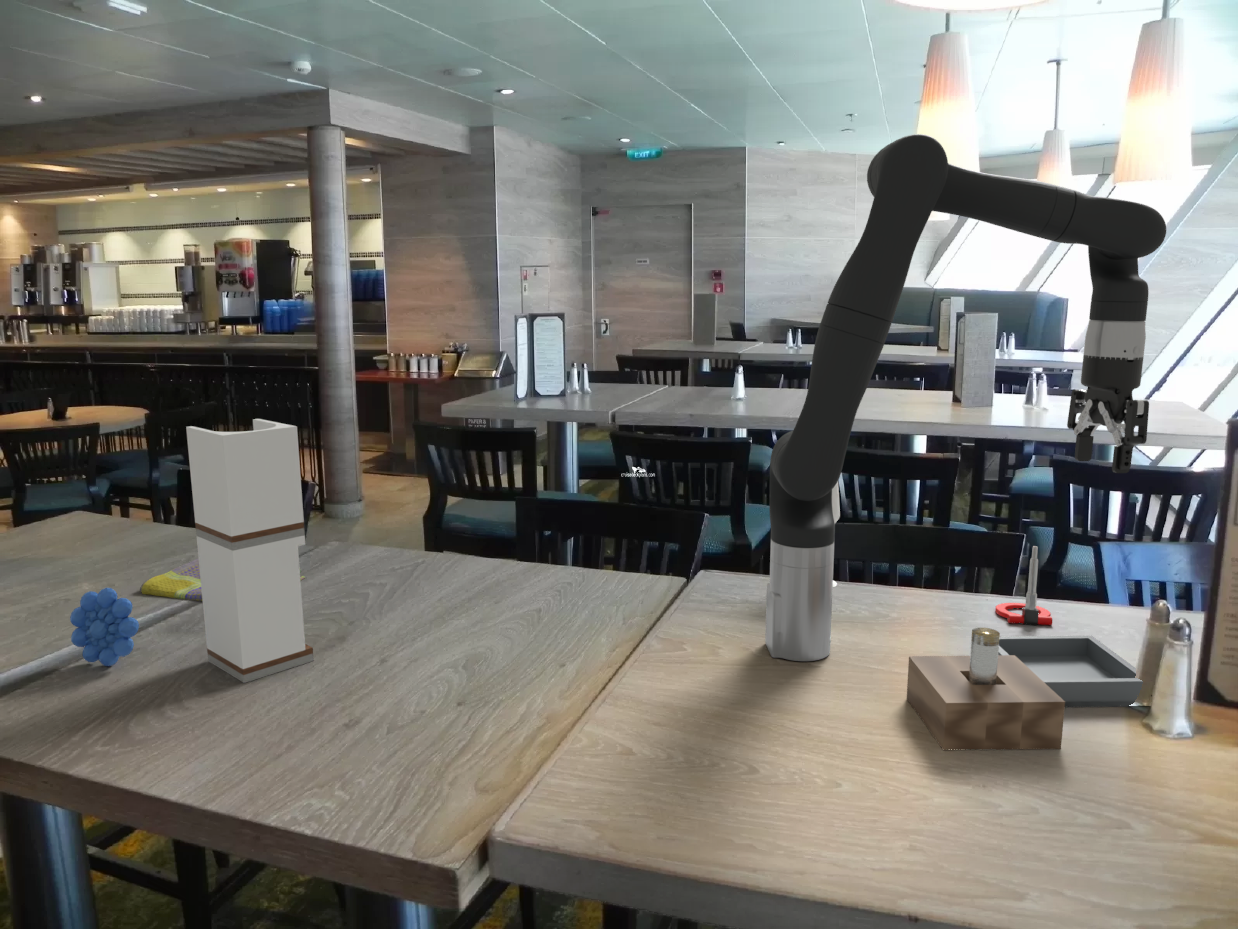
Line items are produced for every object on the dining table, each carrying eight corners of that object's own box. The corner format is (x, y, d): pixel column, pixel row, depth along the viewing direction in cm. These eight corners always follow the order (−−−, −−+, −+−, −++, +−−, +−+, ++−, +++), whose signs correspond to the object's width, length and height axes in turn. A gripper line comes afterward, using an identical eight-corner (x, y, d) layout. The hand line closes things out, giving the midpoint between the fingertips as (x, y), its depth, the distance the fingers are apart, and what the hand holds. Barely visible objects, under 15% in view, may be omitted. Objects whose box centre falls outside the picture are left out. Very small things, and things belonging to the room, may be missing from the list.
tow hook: (989, 608, 161) (1003, 624, 152) (994, 534, 160) (1008, 546, 150) (1041, 610, 160) (1058, 627, 151) (1047, 536, 158) (1064, 548, 149)
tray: (1028, 707, 123) (1030, 682, 122) (981, 659, 138) (982, 636, 138) (1150, 706, 123) (1153, 681, 122) (1089, 658, 139) (1091, 635, 138)
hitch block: (943, 750, 112) (946, 703, 111) (906, 698, 126) (908, 656, 124) (1060, 749, 112) (1065, 701, 111) (1011, 697, 126) (1014, 655, 124)
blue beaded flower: (163, 658, 141) (155, 581, 138) (128, 676, 134) (120, 595, 132) (99, 650, 144) (90, 575, 141) (62, 668, 137) (52, 589, 135)
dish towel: (244, 610, 163) (243, 594, 162) (133, 595, 170) (132, 581, 170) (308, 579, 179) (307, 565, 178) (204, 568, 187) (202, 554, 186)
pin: (971, 728, 117) (977, 637, 115) (961, 717, 120) (968, 627, 118) (997, 728, 117) (1004, 636, 115) (986, 716, 120) (993, 627, 118)
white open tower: (313, 660, 139) (297, 426, 133) (244, 683, 132) (222, 435, 125) (276, 641, 147) (258, 418, 140) (208, 661, 139) (186, 426, 133)
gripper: (1058, 349, 139) (1048, 457, 142) (1122, 357, 125) (1108, 477, 128) (1105, 349, 140) (1094, 457, 143) (1173, 357, 126) (1159, 476, 129)
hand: (1101, 466), depth 135 cm, fingers open, 8 cm apart
